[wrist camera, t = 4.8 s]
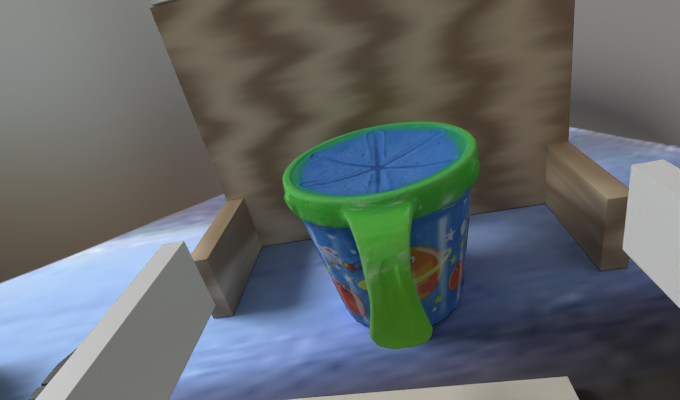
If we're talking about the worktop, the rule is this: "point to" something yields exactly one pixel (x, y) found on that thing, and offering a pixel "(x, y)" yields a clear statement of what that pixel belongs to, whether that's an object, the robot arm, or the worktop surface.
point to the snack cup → (390, 222)
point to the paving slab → (476, 392)
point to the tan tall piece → (381, 108)
